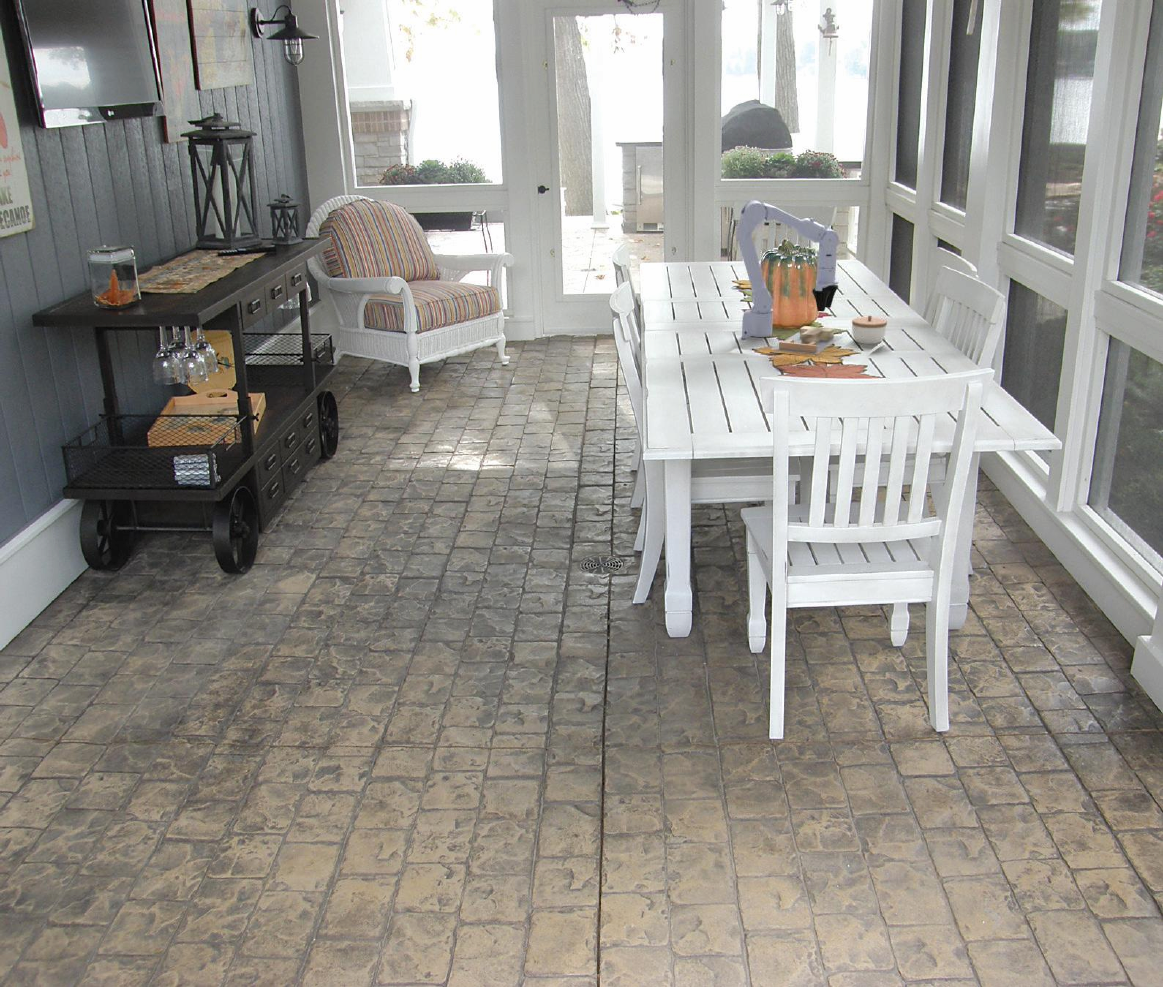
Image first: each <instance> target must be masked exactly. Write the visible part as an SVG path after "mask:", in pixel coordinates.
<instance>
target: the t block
mask: <svg viewBox="0 0 1163 987" xmlns="http://www.w3.org/2000/svg"><path fill="white" fill-rule="evenodd" d="M799 332H800V338H802V342H801V343H805V344H809V343H811V342H818V341H820V340H828V341H830V340H831V339H833V338H834V336H835V328H829V327H818V326H817V327H816V326H807V325H805V326H804V325H803V326H802V327H800V329H799Z"/></svg>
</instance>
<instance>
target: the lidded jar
mask: <svg viewBox="0 0 1163 987" xmlns="http://www.w3.org/2000/svg"><path fill="white" fill-rule="evenodd" d="M851 324H852V326H851V328H852V330H851V331H852V337H853V339H854V341H855V342H857V343H858V344H865V345H866V344H867V345H872V344H873V345H875V344H877V345H875V347H878V344H879V343H881V342H882V341H883V340H884V338H885V335H886V331H887V325H888V321H887V320H886V319H884V318H879V317H872V314H871V315H867V316H863V317H857V318H853V319H852V321H851Z"/></svg>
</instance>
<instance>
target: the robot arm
mask: <svg viewBox="0 0 1163 987" xmlns="http://www.w3.org/2000/svg"><path fill="white" fill-rule="evenodd" d="M763 221H766V222H768V221H777V222H779V223H782V224H784V225H786V226H788V227H791V228H793V229H796V231H797V235H798V236H800V237H802V238H804V239H807V240H809V241H810V242H813V243H815V244H817V243H819V249H818V250H819V251H818V254H817V255H818V258H817V274H816V280H815V283H816V284H815V288H812V290H811V291H812V292H811V293H812V294H813V296H814V300H815V304H816V308H817V309H816V311H817V312H825V311H826V308H827V309H830V308H831V307H832V304H833V301H834V300H833V299H834V297H835V294H836V292H837V290H839V285H838V284H839V281H838V280H837V281H836V270H837V269H836V268H837V257H838V256H837V254H838V253H837V250H838V249H837V246H839V243H840V239H839V235H838V233H837V232H835V230H833V229H832V228H831V227H828V225H826V224H824V225H822V224H820V223H818V222H816V221H815V218H812V217H810V218H807V217H805V218H802V219H800V218H798V217H796V216H794V215H792V214H790V213H788V212H786V211H784V210H782V209H780V208H778V207H776V206H775V205H772V204H769V203H767V202H761V201H760V200H757V199H751V200H749V201H747V202H746V204H745V205H744V206H743V208H742V209H741V212H740V215H739V219H738V222H737V225H736V229H735V235H736V238H737V241H738V245H739V248H740V252H741V256H742V258H743V259H742V260H743V263H744V266H745V270H746V273H747V276H748V280H749V283H750V288H751V302H752V304H753V306H752V307H751V308H750V309H746V310H745V311H744V313H743V314H742V324H741V325H742V327H741V337H740V339H746V340H747V339H748V338H750V337H757V338H767V337H771V336H772V335H773V321H774V309H773V306H774V298H773V297H772V295H771V292H770V291H769V290H768V287H767V285H766V281H765V278H764V275H763V271H762V268H761V264H760V260H759V258H758V254H757V249H756V247H755V244H754V240H753V235H752V234H753V232H754V231H755V230H756V228H757V226H759V224H761V223H762V222H763Z"/></svg>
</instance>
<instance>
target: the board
mask: <svg viewBox="0 0 1163 987" xmlns="http://www.w3.org/2000/svg"><path fill="white" fill-rule="evenodd" d="M842 338H843V336H837V335H834V338H833V339H831V340H830V341H828V340H820V341H818V342H811V343H809V344H805V343H801V342H802V338H800V331H799V332H797V333H795V334H793V335H792V336H790V337H788V338H786V339H785V340H783V341H781V340H780V341H779V342H778V344H776V345H775V346H773V347H771V348H770V350H771V351H770V352H769V354H777V355H782V354H785V352H789V353H788V354H789V355H788V356H791V355H794V354H792V353H796V354H797V353H799V354H809V355H819V353H821V352H823V351H824V350H825V349H827V348H828V347H830V346H831V345H833V344H835V342H837V341H838V340H840V339H842ZM772 350H773V351H774V352H773V351H772ZM775 351H781V352H775ZM783 352H784V353H783ZM790 352H791V353H790Z"/></svg>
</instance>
